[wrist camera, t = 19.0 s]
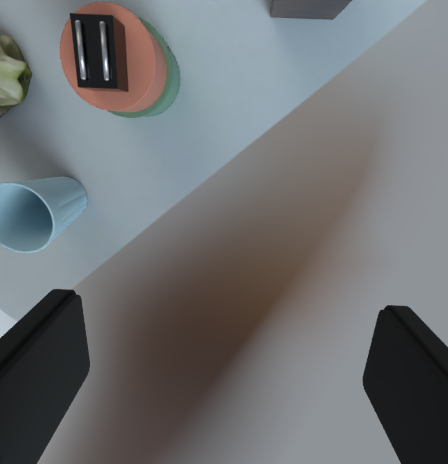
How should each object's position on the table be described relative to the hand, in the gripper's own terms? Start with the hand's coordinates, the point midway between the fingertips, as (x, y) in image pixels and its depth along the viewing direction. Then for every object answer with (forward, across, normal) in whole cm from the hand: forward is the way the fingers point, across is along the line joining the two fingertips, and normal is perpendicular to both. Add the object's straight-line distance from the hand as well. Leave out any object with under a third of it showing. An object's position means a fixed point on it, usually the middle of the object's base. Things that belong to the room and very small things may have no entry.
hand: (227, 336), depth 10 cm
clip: (+21, +11, -11) cm, 26 cm away
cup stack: (+32, +11, -11) cm, 36 cm away
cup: (+32, +22, +4) cm, 39 cm away
